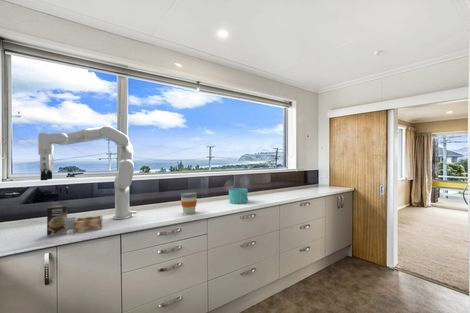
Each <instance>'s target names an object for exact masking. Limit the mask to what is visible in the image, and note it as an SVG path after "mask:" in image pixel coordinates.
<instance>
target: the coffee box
mask: <svg viewBox="0 0 470 313" xmlns="http://www.w3.org/2000/svg"><path fill="white" fill-rule="evenodd" d="M46 211H47V212H46V213H47V214H46V238H51V237H59V236H65V235H68V228H67V218H68V204H63V205H51V206H47V208H46Z"/></svg>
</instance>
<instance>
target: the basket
mask: <svg viewBox="0 0 470 313" xmlns="http://www.w3.org/2000/svg"><path fill="white" fill-rule="evenodd" d="M248 192H249V190H248V188H245V187H243V188H241V187H238V188H237V187H234V188H232V187H231V188H228V196H229V197H228V198H229V200H228V201H229V204H232V205H243V204H247V203H248V201H249V198H248V194H249V193H248Z"/></svg>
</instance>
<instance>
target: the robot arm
mask: <svg viewBox="0 0 470 313" xmlns="http://www.w3.org/2000/svg"><path fill="white" fill-rule="evenodd" d="M37 138H38V139H37V141H38V155H40V156H39V170H40V181H48V180H52V179H53V170H54V169H55V165H54V155H55V148H54V147H55V145H60V146H67V145H74V144H79V143H86V142H93V141H99V140H107V139H108V140H110V141H111V142H113V143H115V145H116V146H117V147H118V148H119V149H120V153H119V159H118V164H117V168H118V174H117V175H116V176H115V178H114V182H113V184H114V207H115V208H114V215H113V216H112V219H114V220H125V219H130V218H132V217H133V215H132V214H135V215H136V214H137V210H131V209H130V186H131V184H132V182H133V176H134V171H135V164H134V162H133V157H134V148H133V145H132V143H131V142H130V138H129V136H128V135H127V134H125V133H123V132H121V131H120V130H118V129H116V128H115V127H113V126H111V125H109V124H108V125H103V126H100V127H91V128H85V129H81V130H78V131H74V132H68V133H64V132H39V133H38V135H37Z"/></svg>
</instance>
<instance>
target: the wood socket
mask: <svg viewBox="0 0 470 313" xmlns="http://www.w3.org/2000/svg"><path fill="white" fill-rule="evenodd" d="M103 225H104V224H103V215H102V214H101V215H95V216H94V215H93V216H86V217H85V216H84V217H83V216H82V217H78V218H76V220H75V221H74V228H73V234H75V233H83V232H90V231H97V230H102V228H103Z"/></svg>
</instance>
